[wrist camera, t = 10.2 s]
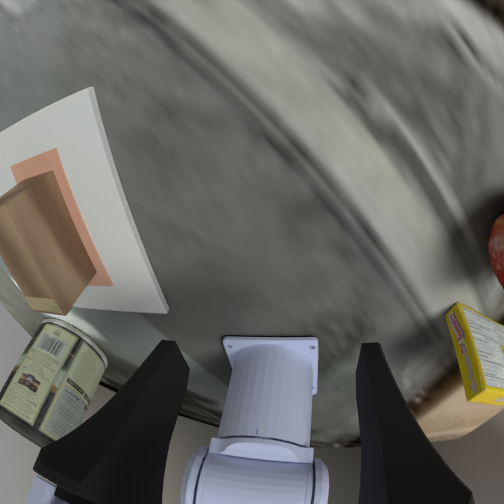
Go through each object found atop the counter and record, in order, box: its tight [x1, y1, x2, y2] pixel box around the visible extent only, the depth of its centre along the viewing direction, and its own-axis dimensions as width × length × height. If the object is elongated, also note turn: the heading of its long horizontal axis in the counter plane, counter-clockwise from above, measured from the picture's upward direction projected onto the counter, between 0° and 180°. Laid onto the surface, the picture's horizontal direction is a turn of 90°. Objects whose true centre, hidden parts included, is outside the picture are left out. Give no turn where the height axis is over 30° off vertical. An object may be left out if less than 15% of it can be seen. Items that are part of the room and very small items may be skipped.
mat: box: [0, 87, 169, 314], centre depth 21 cm, size 18×14×1 cm
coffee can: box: [0, 318, 108, 448], centre depth 27 cm, size 10×10×14 cm
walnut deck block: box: [0, 170, 97, 316], centre depth 19 cm, size 4×9×5 cm, turn 9°
